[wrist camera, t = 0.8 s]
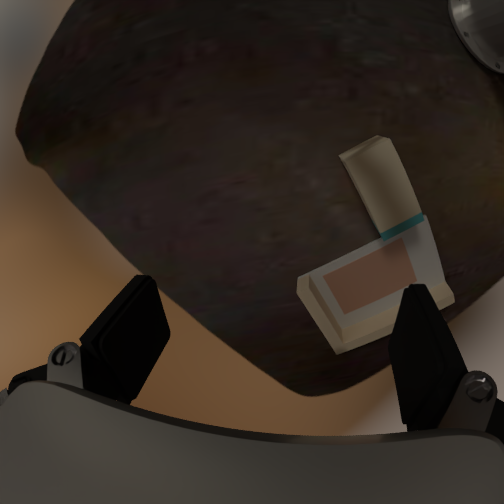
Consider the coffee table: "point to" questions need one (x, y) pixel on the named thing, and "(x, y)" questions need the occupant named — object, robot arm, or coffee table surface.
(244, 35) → the coffee table surface
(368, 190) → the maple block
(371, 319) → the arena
